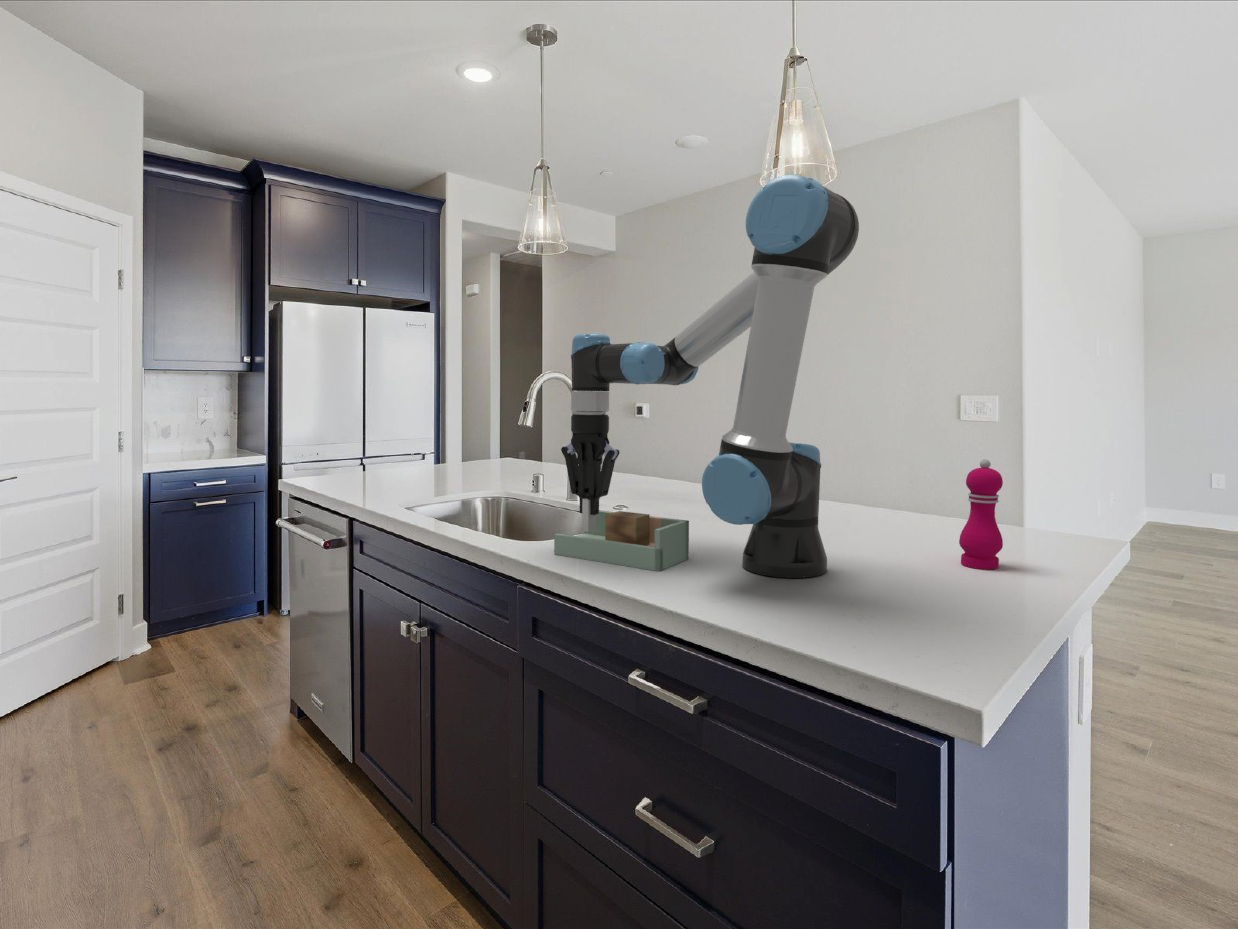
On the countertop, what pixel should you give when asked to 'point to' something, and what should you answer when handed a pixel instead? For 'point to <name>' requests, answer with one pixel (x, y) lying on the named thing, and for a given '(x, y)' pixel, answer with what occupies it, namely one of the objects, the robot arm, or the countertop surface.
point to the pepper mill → (982, 519)
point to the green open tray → (630, 545)
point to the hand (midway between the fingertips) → (589, 529)
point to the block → (627, 527)
